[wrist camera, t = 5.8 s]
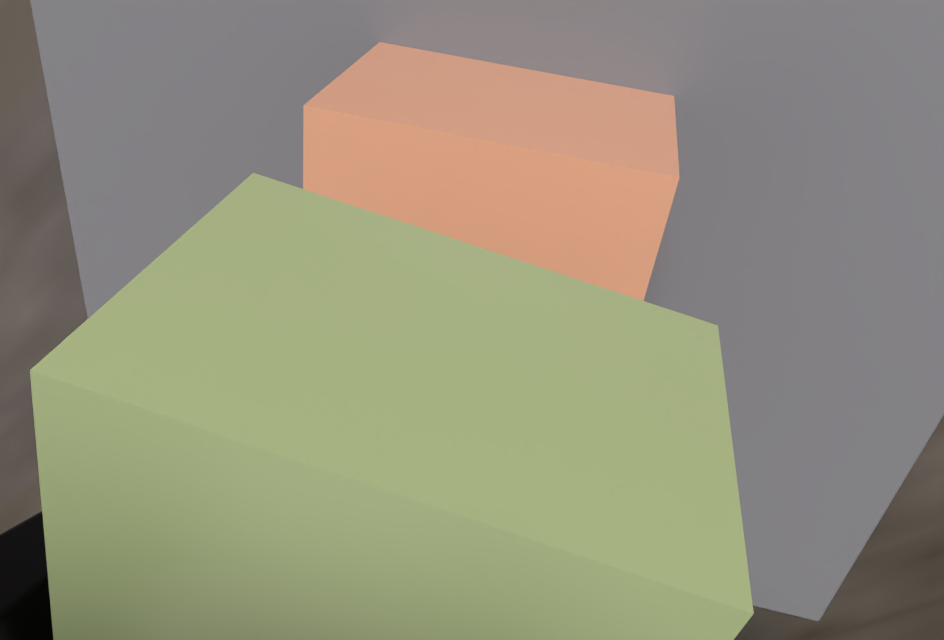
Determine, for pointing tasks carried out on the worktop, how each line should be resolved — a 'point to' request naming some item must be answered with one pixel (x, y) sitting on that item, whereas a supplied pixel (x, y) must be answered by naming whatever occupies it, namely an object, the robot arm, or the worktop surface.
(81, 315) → the worktop surface
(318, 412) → the olive brick
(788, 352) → the baseplate
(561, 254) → the terracotta brick
